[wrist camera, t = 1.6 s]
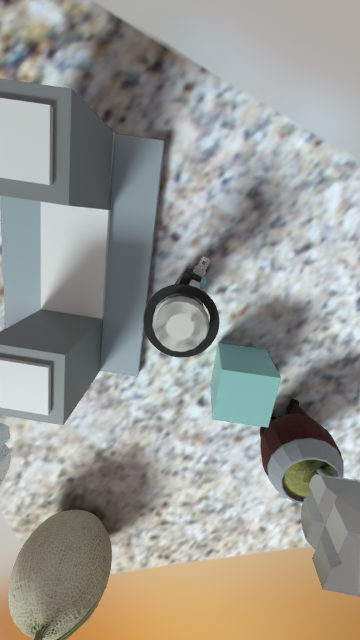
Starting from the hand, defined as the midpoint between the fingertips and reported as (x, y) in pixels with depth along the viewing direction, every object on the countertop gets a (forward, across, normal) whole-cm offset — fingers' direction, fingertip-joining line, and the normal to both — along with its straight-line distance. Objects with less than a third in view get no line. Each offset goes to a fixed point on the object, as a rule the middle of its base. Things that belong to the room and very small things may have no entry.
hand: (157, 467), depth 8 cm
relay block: (+17, -6, +8) cm, 20 cm away
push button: (+23, 0, 0) cm, 23 cm away
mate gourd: (+23, -13, +13) cm, 29 cm away
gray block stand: (+23, +11, -1) cm, 25 cm away
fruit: (+23, +9, +33) cm, 41 cm away
